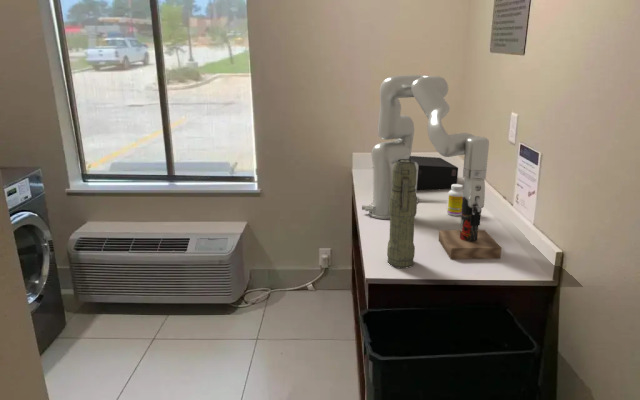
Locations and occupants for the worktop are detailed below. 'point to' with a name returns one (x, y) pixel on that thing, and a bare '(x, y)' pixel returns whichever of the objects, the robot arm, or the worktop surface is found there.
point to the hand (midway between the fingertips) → (470, 220)
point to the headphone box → (434, 173)
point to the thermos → (402, 214)
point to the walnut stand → (469, 246)
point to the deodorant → (467, 223)
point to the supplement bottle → (455, 200)
